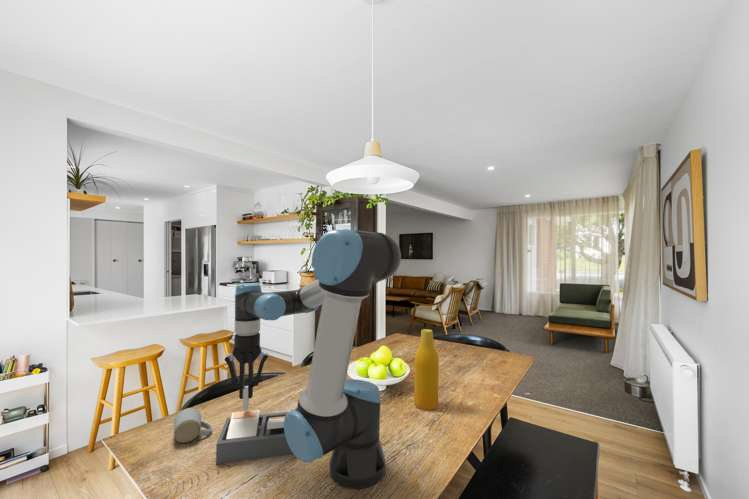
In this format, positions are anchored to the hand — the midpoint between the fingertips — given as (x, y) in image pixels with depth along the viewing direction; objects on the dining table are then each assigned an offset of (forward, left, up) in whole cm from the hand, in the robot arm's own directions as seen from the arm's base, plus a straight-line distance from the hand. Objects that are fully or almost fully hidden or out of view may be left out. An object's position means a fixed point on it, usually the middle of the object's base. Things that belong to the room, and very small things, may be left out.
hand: (245, 408), depth 104 cm
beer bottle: (+10, -65, -10) cm, 66 cm away
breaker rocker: (-4, 0, -3) cm, 5 cm away
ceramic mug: (+5, +16, -10) cm, 20 cm away
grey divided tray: (-4, -6, -9) cm, 12 cm away
